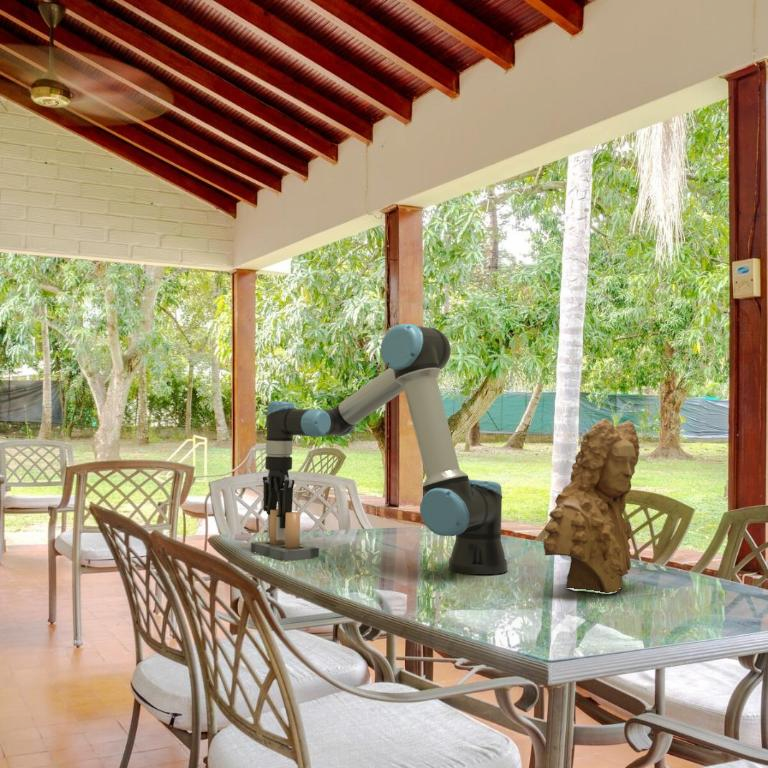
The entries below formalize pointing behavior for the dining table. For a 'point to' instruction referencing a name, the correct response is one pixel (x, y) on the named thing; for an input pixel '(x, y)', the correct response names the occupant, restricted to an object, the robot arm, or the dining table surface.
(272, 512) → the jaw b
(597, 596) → the dining table surface
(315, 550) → the housing
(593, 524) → the bust
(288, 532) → the tan wooden cylinder
